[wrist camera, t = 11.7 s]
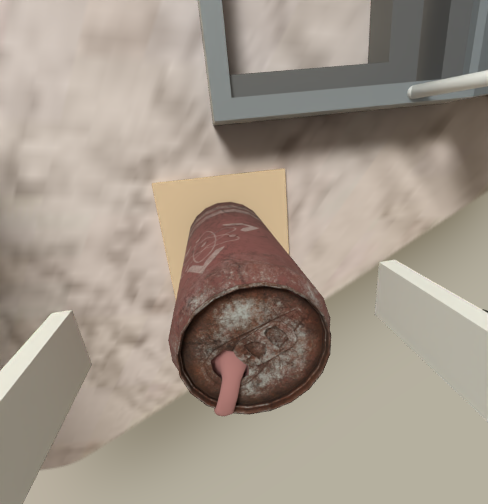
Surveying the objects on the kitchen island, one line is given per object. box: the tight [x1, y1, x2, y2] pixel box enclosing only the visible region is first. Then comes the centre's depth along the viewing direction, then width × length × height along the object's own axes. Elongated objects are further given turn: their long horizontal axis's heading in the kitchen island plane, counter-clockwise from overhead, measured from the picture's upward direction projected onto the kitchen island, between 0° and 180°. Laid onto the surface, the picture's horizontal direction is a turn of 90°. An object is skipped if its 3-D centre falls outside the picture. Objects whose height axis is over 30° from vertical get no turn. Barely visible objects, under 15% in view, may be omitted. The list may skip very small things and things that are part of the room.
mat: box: [152, 169, 289, 299], centre depth 23 cm, size 10×10×1 cm
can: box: [168, 202, 331, 416], centre depth 16 cm, size 6×6×14 cm
